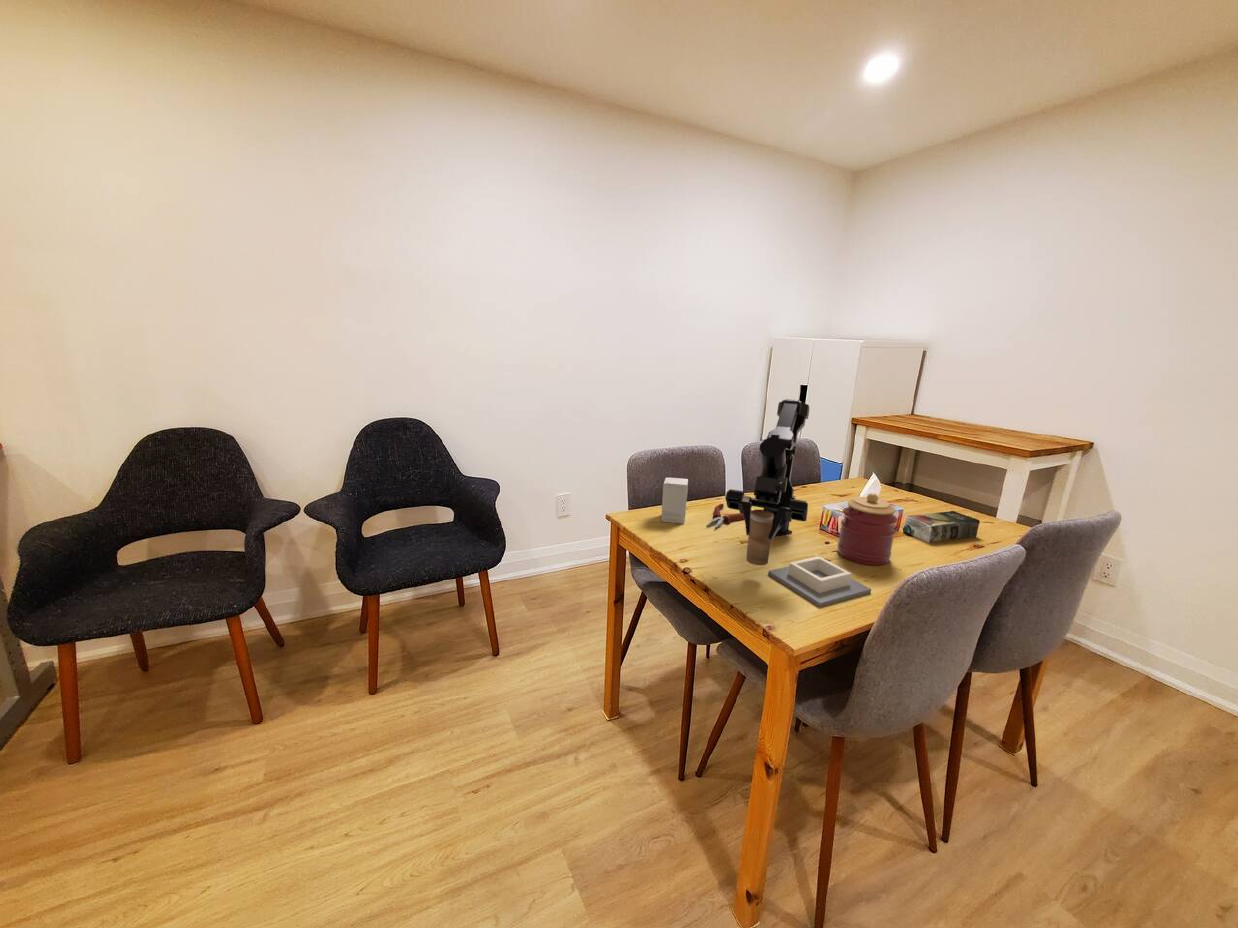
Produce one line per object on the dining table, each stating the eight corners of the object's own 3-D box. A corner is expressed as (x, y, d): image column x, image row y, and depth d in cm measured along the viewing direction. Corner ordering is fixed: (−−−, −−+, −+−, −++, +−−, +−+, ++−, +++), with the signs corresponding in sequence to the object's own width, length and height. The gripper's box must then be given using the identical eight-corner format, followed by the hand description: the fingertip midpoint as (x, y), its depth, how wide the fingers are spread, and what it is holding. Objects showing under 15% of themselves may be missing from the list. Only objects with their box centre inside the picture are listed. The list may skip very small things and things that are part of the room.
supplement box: (684, 524, 149) (687, 485, 146) (660, 521, 150) (662, 483, 147) (686, 516, 156) (688, 478, 153) (663, 513, 158) (665, 476, 154)
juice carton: (926, 544, 140) (930, 524, 138) (898, 532, 149) (902, 513, 147) (977, 539, 146) (982, 519, 144) (947, 527, 155) (951, 509, 153)
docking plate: (816, 563, 125) (818, 549, 124) (870, 592, 111) (873, 577, 110) (768, 574, 118) (769, 559, 117) (819, 607, 104) (822, 590, 103)
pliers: (693, 526, 149) (693, 518, 148) (719, 509, 165) (720, 501, 164) (728, 535, 143) (729, 527, 142) (752, 516, 159) (752, 509, 158)
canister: (826, 549, 134) (835, 488, 130) (859, 542, 139) (869, 484, 135) (865, 569, 122) (877, 503, 118) (901, 561, 128) (913, 498, 123)
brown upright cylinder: (758, 554, 119) (763, 508, 116) (772, 563, 114) (778, 515, 111) (741, 557, 117) (746, 511, 114) (755, 566, 112) (761, 518, 109)
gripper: (730, 457, 117) (714, 514, 110) (812, 467, 109) (801, 530, 102) (735, 480, 126) (720, 534, 119) (811, 491, 118) (801, 550, 111)
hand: (758, 536), depth 113 cm, fingers closed on brown upright cylinder, 5 cm apart
